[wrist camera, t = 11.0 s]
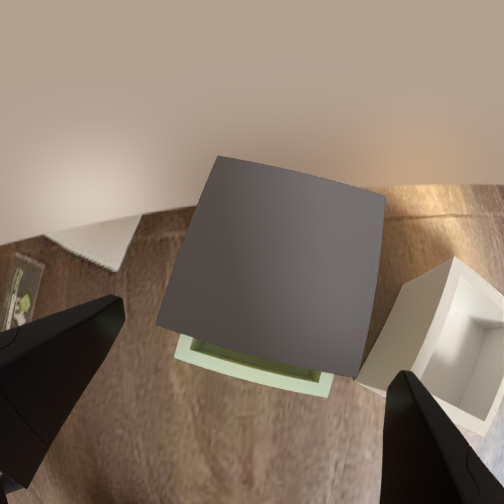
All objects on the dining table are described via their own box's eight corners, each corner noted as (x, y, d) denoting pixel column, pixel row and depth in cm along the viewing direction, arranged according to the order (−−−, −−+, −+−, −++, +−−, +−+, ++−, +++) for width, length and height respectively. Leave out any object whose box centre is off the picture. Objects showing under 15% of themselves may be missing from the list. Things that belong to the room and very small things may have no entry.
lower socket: (312, 386, 15) (327, 397, 11) (193, 355, 16) (174, 357, 12) (338, 271, 17) (358, 250, 13) (227, 244, 18) (218, 216, 14)
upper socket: (429, 420, 13) (484, 436, 8) (353, 381, 15) (397, 394, 9) (469, 330, 15) (526, 318, 10) (402, 284, 17) (454, 255, 11)
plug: (298, 359, 15) (357, 378, 5) (220, 339, 15) (155, 324, 6) (316, 284, 16) (385, 195, 6) (242, 265, 16) (217, 155, 7)
